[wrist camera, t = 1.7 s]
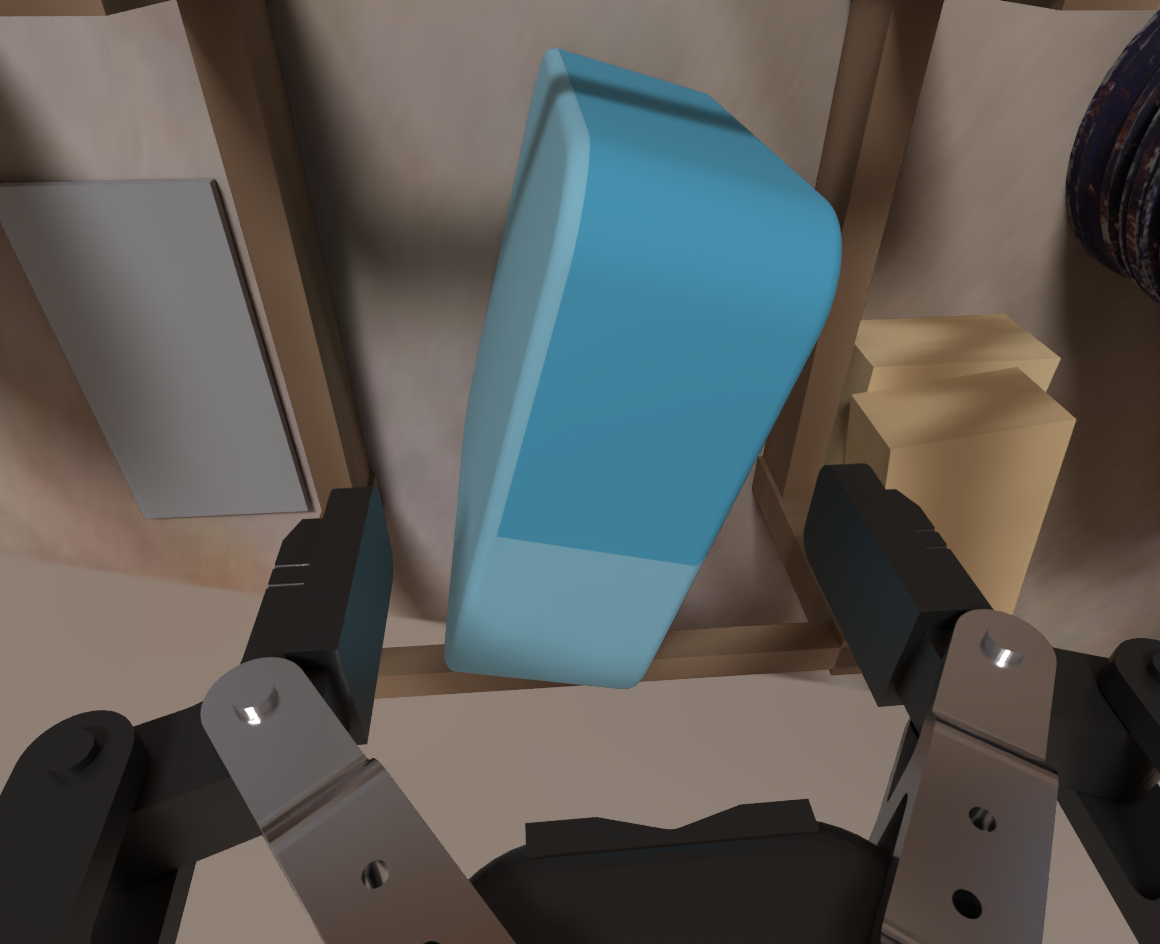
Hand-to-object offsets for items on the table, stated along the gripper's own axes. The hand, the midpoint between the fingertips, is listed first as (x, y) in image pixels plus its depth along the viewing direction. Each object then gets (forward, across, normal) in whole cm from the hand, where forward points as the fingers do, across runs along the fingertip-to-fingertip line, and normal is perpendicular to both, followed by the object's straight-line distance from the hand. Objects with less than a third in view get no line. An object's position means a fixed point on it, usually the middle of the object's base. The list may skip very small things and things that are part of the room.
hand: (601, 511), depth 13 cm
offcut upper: (+9, -12, +7) cm, 17 cm away
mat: (+12, +13, +3) cm, 18 cm away
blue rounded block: (+12, 0, 0) cm, 12 cm away
